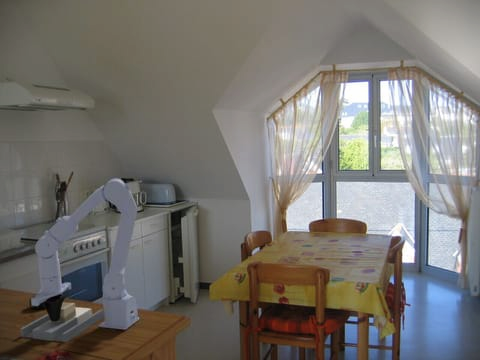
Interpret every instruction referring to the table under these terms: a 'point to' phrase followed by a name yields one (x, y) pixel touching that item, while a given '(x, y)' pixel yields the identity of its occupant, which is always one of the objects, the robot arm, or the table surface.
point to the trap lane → (61, 326)
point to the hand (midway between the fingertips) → (54, 320)
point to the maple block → (67, 312)
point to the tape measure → (35, 306)
